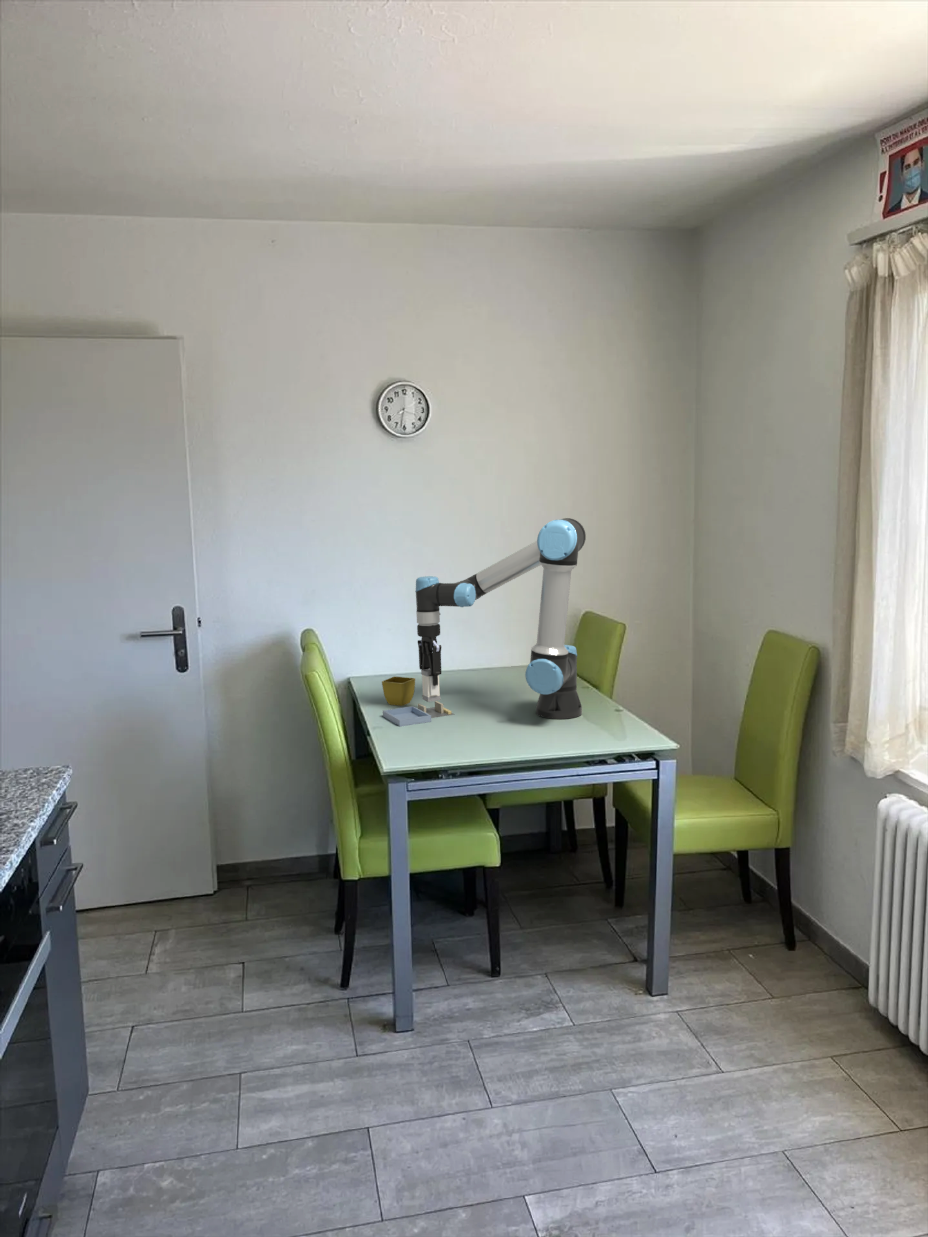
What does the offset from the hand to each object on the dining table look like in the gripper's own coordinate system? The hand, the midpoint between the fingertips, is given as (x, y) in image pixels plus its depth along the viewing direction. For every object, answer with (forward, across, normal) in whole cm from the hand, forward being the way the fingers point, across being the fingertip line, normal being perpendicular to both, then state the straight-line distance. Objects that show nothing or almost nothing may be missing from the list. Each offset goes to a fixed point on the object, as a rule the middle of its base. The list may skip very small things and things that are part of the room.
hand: (431, 693), depth 301 cm
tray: (+7, -3, +10) cm, 13 cm away
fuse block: (+7, 0, -1) cm, 7 cm away
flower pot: (+7, +17, +4) cm, 19 cm away
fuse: (+2, 0, 0) cm, 2 cm away
